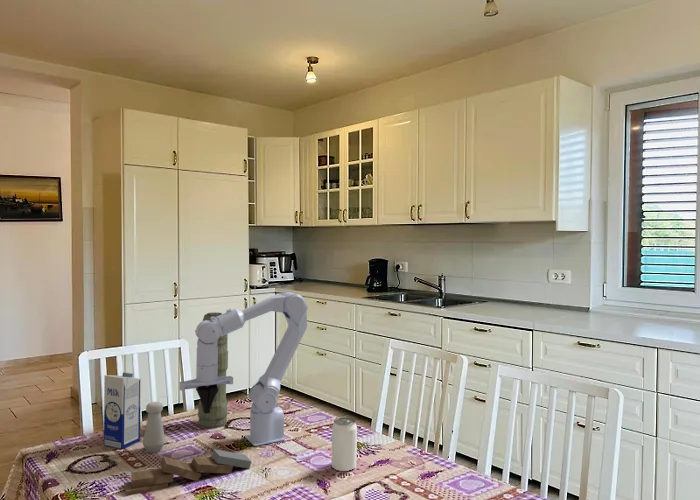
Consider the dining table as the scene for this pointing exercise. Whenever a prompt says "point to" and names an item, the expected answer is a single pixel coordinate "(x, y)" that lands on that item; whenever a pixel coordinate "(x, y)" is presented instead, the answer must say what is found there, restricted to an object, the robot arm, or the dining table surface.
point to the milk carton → (121, 410)
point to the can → (344, 444)
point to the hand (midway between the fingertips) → (206, 412)
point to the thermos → (219, 403)
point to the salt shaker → (154, 428)
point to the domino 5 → (231, 458)
